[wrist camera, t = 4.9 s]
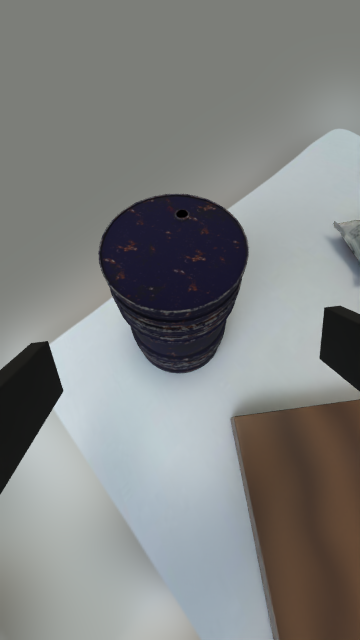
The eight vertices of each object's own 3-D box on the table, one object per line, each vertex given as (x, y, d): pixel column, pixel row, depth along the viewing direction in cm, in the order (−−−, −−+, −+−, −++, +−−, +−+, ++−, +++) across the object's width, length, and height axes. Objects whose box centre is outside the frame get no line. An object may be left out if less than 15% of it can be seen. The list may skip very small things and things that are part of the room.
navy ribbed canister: (214, 382, 27) (242, 328, 14) (127, 365, 28) (73, 299, 15) (226, 303, 31) (256, 201, 18) (149, 290, 32) (123, 185, 19)
